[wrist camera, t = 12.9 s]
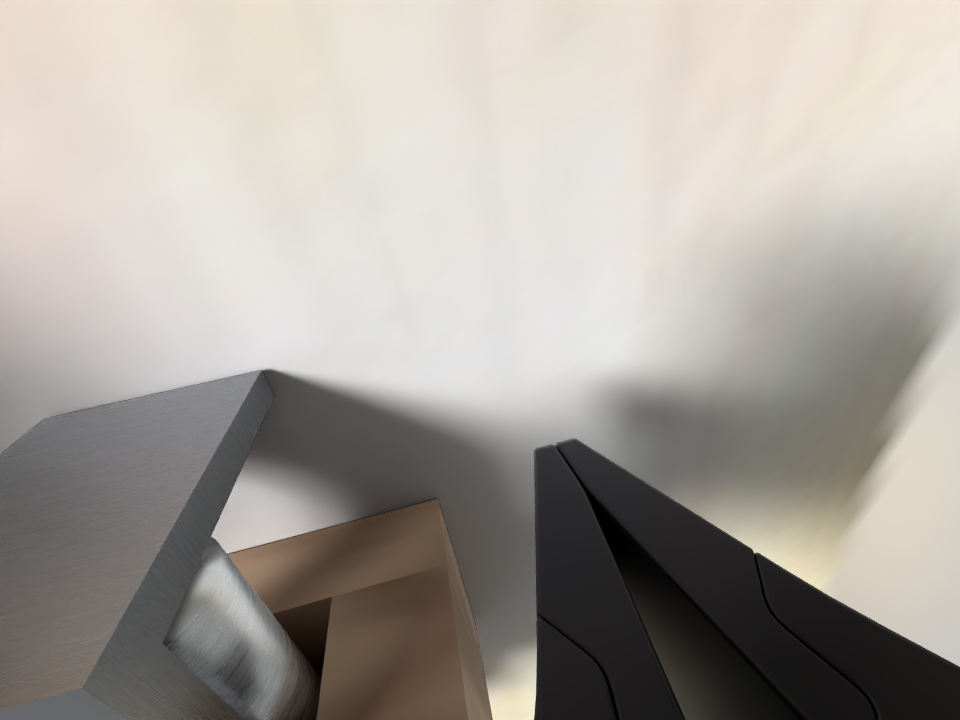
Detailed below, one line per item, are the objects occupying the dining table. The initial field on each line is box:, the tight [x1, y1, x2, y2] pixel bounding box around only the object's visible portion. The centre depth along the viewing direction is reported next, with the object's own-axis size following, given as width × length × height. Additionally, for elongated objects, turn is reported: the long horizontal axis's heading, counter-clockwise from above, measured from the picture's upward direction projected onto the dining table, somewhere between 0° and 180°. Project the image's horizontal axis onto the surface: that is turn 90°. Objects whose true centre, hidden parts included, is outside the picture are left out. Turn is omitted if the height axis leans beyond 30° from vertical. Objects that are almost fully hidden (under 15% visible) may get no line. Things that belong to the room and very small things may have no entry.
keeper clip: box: [0, 370, 274, 720], centre depth 8 cm, size 5×6×7 cm
